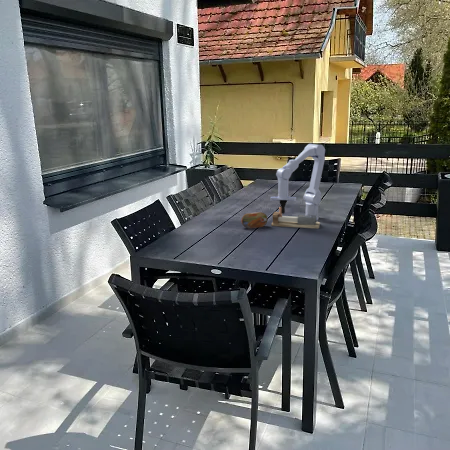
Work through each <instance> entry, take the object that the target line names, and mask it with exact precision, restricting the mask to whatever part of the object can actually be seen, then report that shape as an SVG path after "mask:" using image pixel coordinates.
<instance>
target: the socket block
mask: <svg viewBox="0 0 450 450" xmlns="http://www.w3.org/2000/svg"><path fill="white" fill-rule="evenodd" d="M278 216H279V211H274V212H273V214H272V222H273V224H278V223H279V221H278Z"/></svg>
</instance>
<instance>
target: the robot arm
mask: <svg viewBox="0 0 450 450" xmlns="http://www.w3.org/2000/svg"><path fill="white" fill-rule="evenodd" d="M301 151H302V152H300V153H299V154H298V156H297V157H295V159H289V160H288V162H287V163H286V164H285V165H283V166H282V167H281V168H278V169H277V170H276V173H275V176H276V177H277V185H278V186H277V188H278V189H277V190H278V193H277V196H270V199H269V201H270V202H272V201H278V202H279V205H280V207H282V215H283V214H286V208H285V207H286V204H287V202H297V197H295V196H289V179H290V178H291V176H292V174H293V172H295V171H296V170H297V169H298V168H299V166H300V165H299V164H300V163H302V162H303V161H304V160H306V159H307V158H308V157H311V158H312V159H313V161H314V164H313V166H312V167H313V168H312V172H311V176H310V177H311V178H310V183H309V186H308V188H306V190H305V192H304V195H303V197H302V199H303V201H304V203H305V215H315V216H316V222H319V219H320V216H319V215H318V214H319V206H320V203H321V201H322V192H321V190H320V189H319V188H320V185H321V180H322V174H323V170H324V164H325V158H326V157H325V153H326V149H325V146H324V145H323V144H314V143H308V144H307V145H306V146H305V147H304V149H303V150H301Z"/></svg>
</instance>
